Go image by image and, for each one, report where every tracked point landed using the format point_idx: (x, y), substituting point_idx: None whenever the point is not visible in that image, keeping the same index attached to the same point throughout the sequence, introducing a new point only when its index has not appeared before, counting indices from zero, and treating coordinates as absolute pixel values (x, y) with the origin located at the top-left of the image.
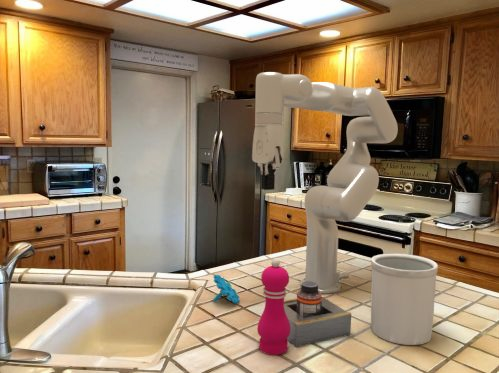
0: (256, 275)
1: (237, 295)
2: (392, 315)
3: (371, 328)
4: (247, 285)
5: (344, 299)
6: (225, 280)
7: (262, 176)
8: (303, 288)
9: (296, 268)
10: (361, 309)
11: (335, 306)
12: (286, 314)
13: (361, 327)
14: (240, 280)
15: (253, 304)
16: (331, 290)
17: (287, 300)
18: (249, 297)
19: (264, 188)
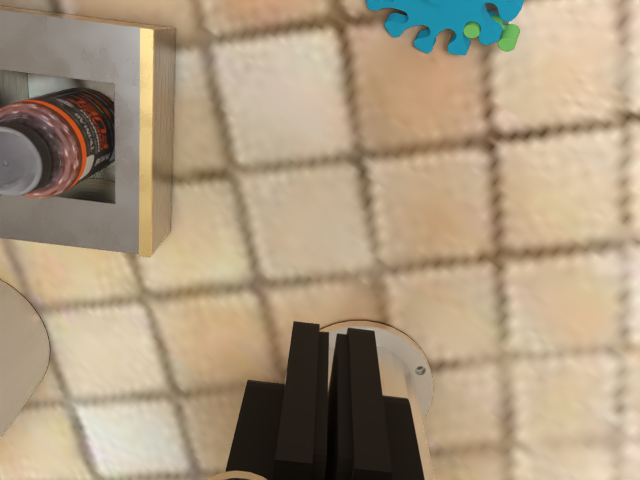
0: (603, 261)
1: (426, 43)
2: None
3: (9, 286)
4: (530, 165)
5: (227, 372)
6: (502, 14)
7: (351, 446)
8: (4, 123)
9: (563, 433)
10: (139, 360)
11: (39, 233)
12: (38, 29)
13: (33, 271)
14: (598, 171)
15: (348, 75)
16: (285, 377)
17: (143, 111)
18: (416, 100)
19: (293, 332)
